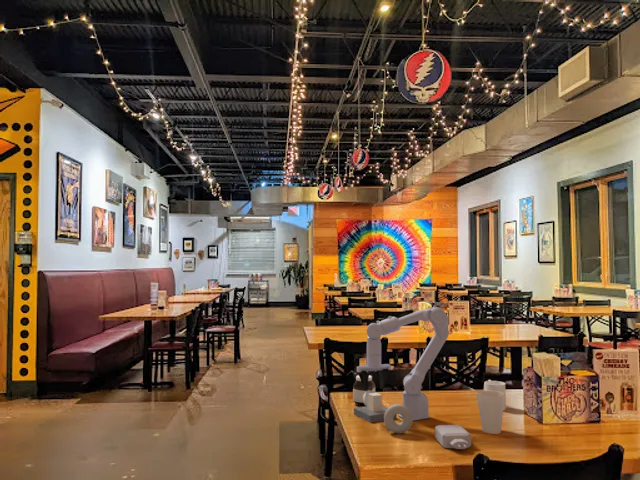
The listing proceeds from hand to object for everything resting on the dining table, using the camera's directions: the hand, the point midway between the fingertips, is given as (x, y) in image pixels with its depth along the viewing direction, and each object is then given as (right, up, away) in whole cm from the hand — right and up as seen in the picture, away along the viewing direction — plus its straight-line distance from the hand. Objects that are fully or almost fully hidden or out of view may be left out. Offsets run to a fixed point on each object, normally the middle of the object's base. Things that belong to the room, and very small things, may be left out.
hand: (373, 389), depth 195 cm
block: (+1, -8, 0) cm, 8 cm away
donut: (+6, -9, -21) cm, 24 cm away
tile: (0, -10, 0) cm, 10 cm away
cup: (+52, -11, +13) cm, 55 cm away
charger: (+23, -8, -34) cm, 42 cm away
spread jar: (-1, -12, +17) cm, 20 cm away
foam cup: (+40, -9, -19) cm, 45 cm away
